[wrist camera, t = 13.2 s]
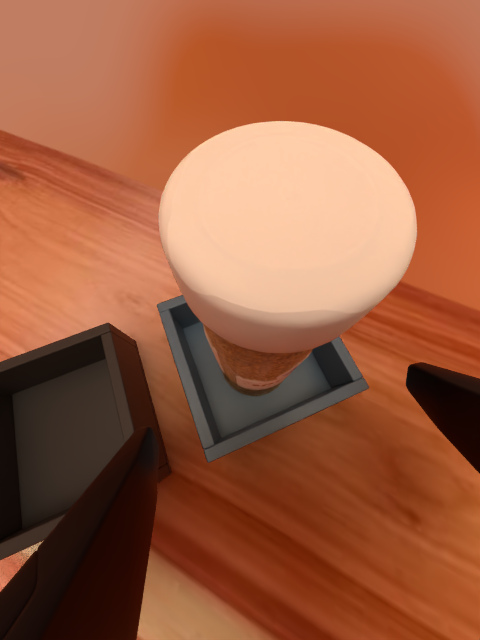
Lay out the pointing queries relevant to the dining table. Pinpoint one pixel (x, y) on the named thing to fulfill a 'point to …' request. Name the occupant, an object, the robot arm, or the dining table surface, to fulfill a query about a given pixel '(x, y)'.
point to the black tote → (66, 427)
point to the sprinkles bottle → (283, 242)
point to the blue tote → (244, 410)
